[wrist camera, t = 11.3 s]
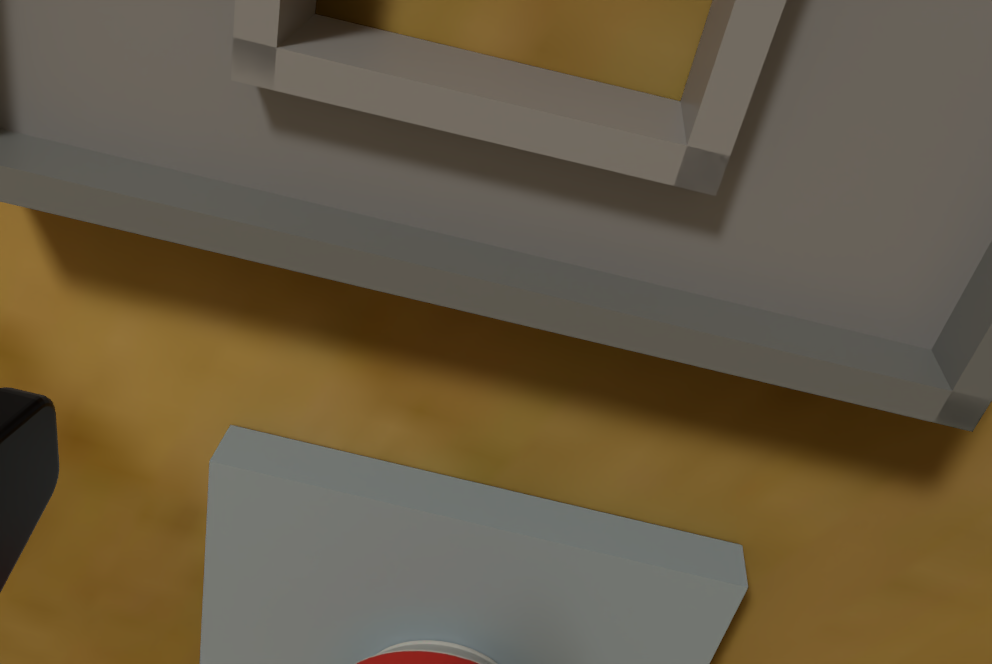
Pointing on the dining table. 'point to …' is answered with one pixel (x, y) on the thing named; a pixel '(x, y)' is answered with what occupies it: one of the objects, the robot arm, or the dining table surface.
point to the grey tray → (556, 176)
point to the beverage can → (428, 654)
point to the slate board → (441, 567)
